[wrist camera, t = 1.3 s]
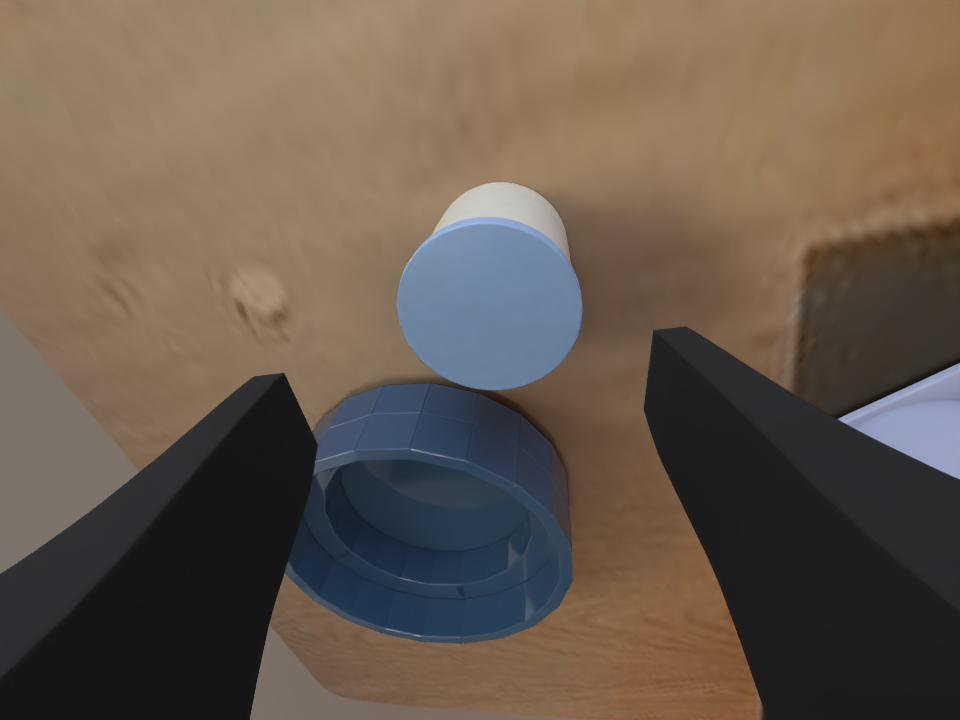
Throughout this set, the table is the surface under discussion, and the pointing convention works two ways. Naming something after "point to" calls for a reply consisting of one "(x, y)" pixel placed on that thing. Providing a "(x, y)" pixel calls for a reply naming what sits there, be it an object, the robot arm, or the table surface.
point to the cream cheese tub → (492, 290)
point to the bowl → (434, 517)
